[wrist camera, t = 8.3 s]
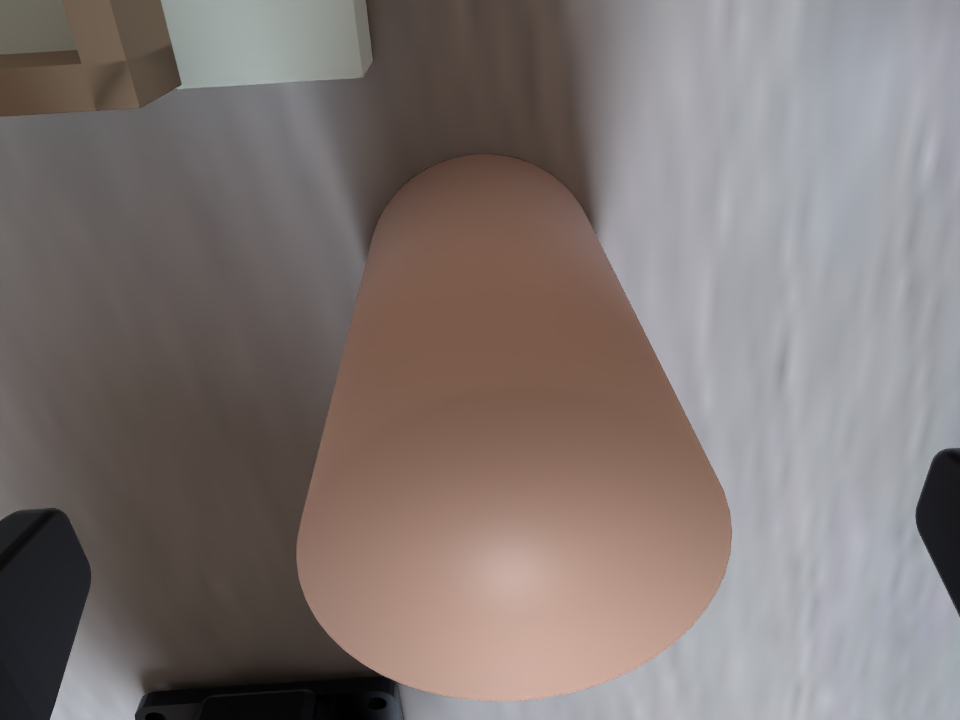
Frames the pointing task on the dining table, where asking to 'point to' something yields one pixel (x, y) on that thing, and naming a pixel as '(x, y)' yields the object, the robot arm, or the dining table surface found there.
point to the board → (169, 48)
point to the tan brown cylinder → (504, 454)
